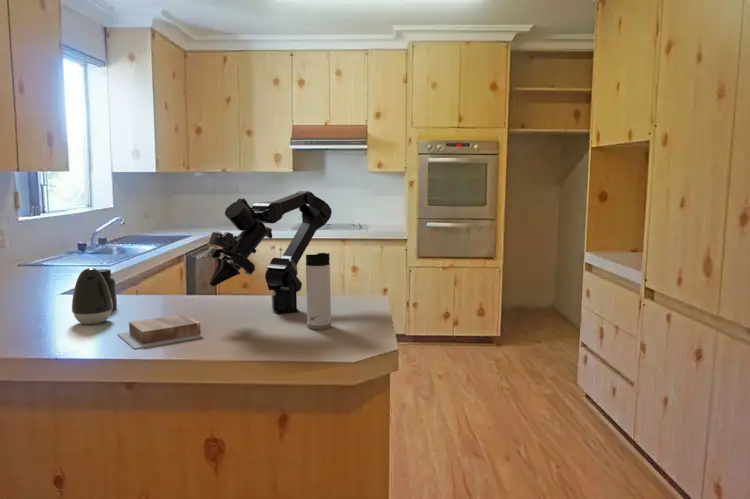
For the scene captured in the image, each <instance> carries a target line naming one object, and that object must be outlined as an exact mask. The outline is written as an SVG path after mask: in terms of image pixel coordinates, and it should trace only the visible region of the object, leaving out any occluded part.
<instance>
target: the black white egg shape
mask: <svg viewBox="0 0 750 499" xmlns="http://www.w3.org/2000/svg"><path fill="white" fill-rule="evenodd" d="M98 270H99V269H96V268H93V267H92V268H91V267H89V268H85V269H83V270H82V271H81V272H80V273H79V275H78V277H77V279H76V282H75V285H74V290H73V295H72V300H71V302H72V303H71V312H72V313H73V316H74V318H75V320H76V321H77V322H78V323H81V324H82V325H89V326H90V325H93V326H94V325H98V324H99V325H100V324H102V323H104V322H106V321H107V320H108V319H109V318H110V316H111V315H112V312H113V310H112V309H113V303H112V298H111V294H110V291H109V288H108V286H107V283H106V281H105V279H104V277H103V275H102V274H101V273H100V272H99V271H98Z"/></svg>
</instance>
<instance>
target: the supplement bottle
mask: <svg viewBox="0 0 750 499" xmlns="http://www.w3.org/2000/svg"><path fill="white" fill-rule="evenodd" d="M97 270H98V271H99V272H100V273H101V274H102V275H103V277H104V279H105V281H106V283H107V286H108V288H109V291H110V294H111V298H112V303H113V309H112V311H113V310H116V309H117V308H118V300H117V287H116V286H117V285H116V280H115V279H114V278H112V272H111V271H112V270H111V269H109V268H107V269H97Z"/></svg>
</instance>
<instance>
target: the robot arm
mask: <svg viewBox="0 0 750 499" xmlns="http://www.w3.org/2000/svg"><path fill="white" fill-rule="evenodd" d="M297 209H298V211H299V212H300V213H301V219H302V220H301V221H302V222H301V224H300V225H299V227H298V229H297V231H296V233H295V234H294V236H293V238H292V240H290V242H289V245H288V246H287V248H286V250H285V251H284V252H283V254H282V256H281V257H273V258H272V259H271V260H270V263H269V264H268V265H267V266H266V271H265V273H264V278H265V281H266V284H267V288H268V290H269V291H273V295H271V309H272V310H273V311H274V312H275V313H276V314H287V313H297V312H299V309H298V305H297V302H298V301H297V300H298V299H297V297H298V296H297V293H298V292H300V291H301V290H302V286H303V282H302V281H301V280H300V278H299V277H298V264H299V261H300V259H301V258H302V257H303V255H304V253H305V251H306V249H307V248H308V246H309V244H310V242H311V240H312V239H313V237H314V235H315V233H316V232H317V230H319V229H320V228H321V229H322V227H325V225H326V224H327V223H328V221H330V220H331V217H332V213H333V212H332V208H331V207H330V205H329V204H328V203H327V202H326V201H325V200H323V199H321V198H320V197H318V196H316V195H315V194H314V193H313V192H311V191H308V190H305V191H303V190H299V191H296V192H295V193H292V194H290V195H288V196H287V195H286V196H284V197H282V198H279V199H277V200H274V201H260V202H255V203H253V204H252V205H251V206H250V205H249V203H248V201H247V200H246V199H245V198H238V199H237V200H236V201H234V202H233V203H231V204H230V205H229V206H227V207H226V209H225V212H224V216H225V217H226V218H227V219H228V220H229V221H230V222H231V223H232V225H233V226H234V227H235V228H236V229H237V230H238V231H240V233H239V234H238V235H234V234H233V233H231V232H228V231H225V232H224V233H219V232H216V231H212V233H211V236H210V238H209V240H208V244H210V245H215V246H217V247H212V248H211V249H210V250H209V252H208V254H209V256H210V257H211V258H213V259H214V260H215V262H216V267H215V269H214V271H213V274H212V276H211V278H210V281H209V282H208V285H210V286H211V287H215V286H218V285H219V284H221V283H223V282H225V281H227V280H229V279H231V278H233V277H236V276H237V275H238V276H239V275H241V272H240V270H241V269H242V270H243V271H244V273H245V274H246V275H248V276H252V274H253V273H254V272H255V271H256V267H255V266H256V265H255V263H253V261H251V260H250V259H249V257H250V256H251V254H256V252H257V247H258V246H259V245H260V244H261V243H262V241H263V239H265V238H268V239H270V240H271V239H273V232H272V231H273V229H272V228H270V227H268V226H266V225H265V224H271V225H272V224H275V223H277V222H279V221H280V220H282V219H283V216H284V215H285V214H286V213H287V214H288V213H290V212H292V211H295V210H297ZM219 247H221V248H219Z"/></svg>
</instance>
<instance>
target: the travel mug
mask: <svg viewBox="0 0 750 499" xmlns="http://www.w3.org/2000/svg"><path fill="white" fill-rule="evenodd" d="M330 260H331V258H330V253H329V252H328V253H327V252H318V253H317V254H305V282H306V283H305V284H306V287H305V288H306V320H307V322H306V325H307V328H308V329H310V330H320V331H321V330H326V329H329V328H331V326H332V310H331V308H332V307H331V302H332V301H331V298H332V297H331V296H332V295H331V267H330V266H331V262H330Z"/></svg>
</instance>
